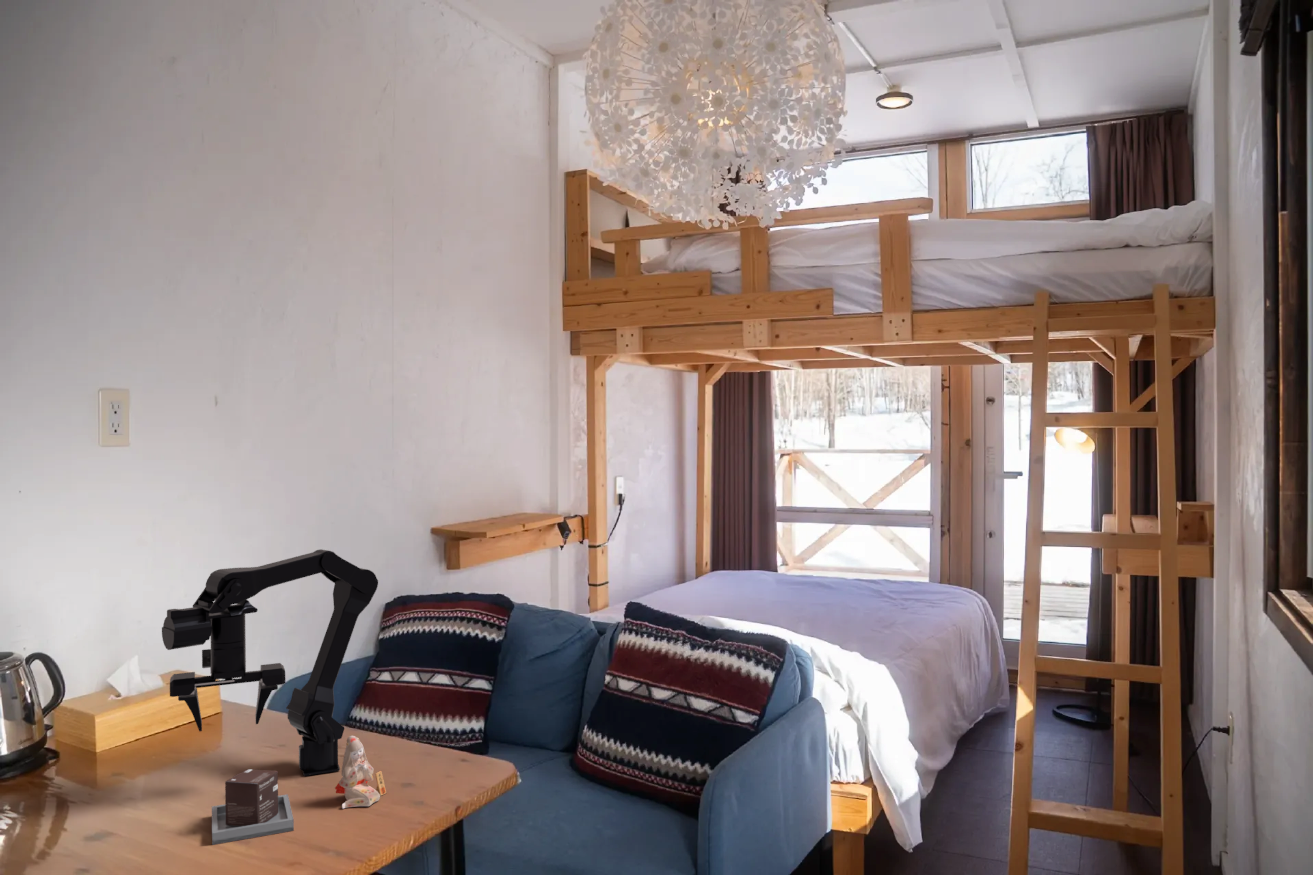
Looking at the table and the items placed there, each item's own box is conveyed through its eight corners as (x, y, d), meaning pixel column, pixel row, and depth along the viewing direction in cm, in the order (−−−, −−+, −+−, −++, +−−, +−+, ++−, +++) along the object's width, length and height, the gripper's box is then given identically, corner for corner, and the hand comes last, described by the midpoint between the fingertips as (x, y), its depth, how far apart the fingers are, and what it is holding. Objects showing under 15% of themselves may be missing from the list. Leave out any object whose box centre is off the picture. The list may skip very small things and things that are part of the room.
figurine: (356, 813, 161) (345, 743, 162) (330, 811, 165) (319, 742, 165) (397, 793, 169) (386, 726, 169) (371, 791, 173) (361, 725, 173)
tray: (287, 804, 166) (287, 794, 166) (293, 830, 155) (293, 819, 155) (211, 816, 160) (211, 806, 160) (212, 844, 150) (212, 833, 150)
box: (257, 828, 154) (257, 783, 154) (224, 826, 155) (223, 781, 155) (279, 813, 160) (278, 770, 160) (246, 811, 161) (246, 768, 161)
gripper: (280, 627, 182) (281, 708, 182) (171, 636, 174) (172, 722, 174) (285, 638, 172) (286, 724, 172) (169, 649, 164) (170, 739, 164)
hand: (229, 727), depth 171 cm, fingers open, 9 cm apart
